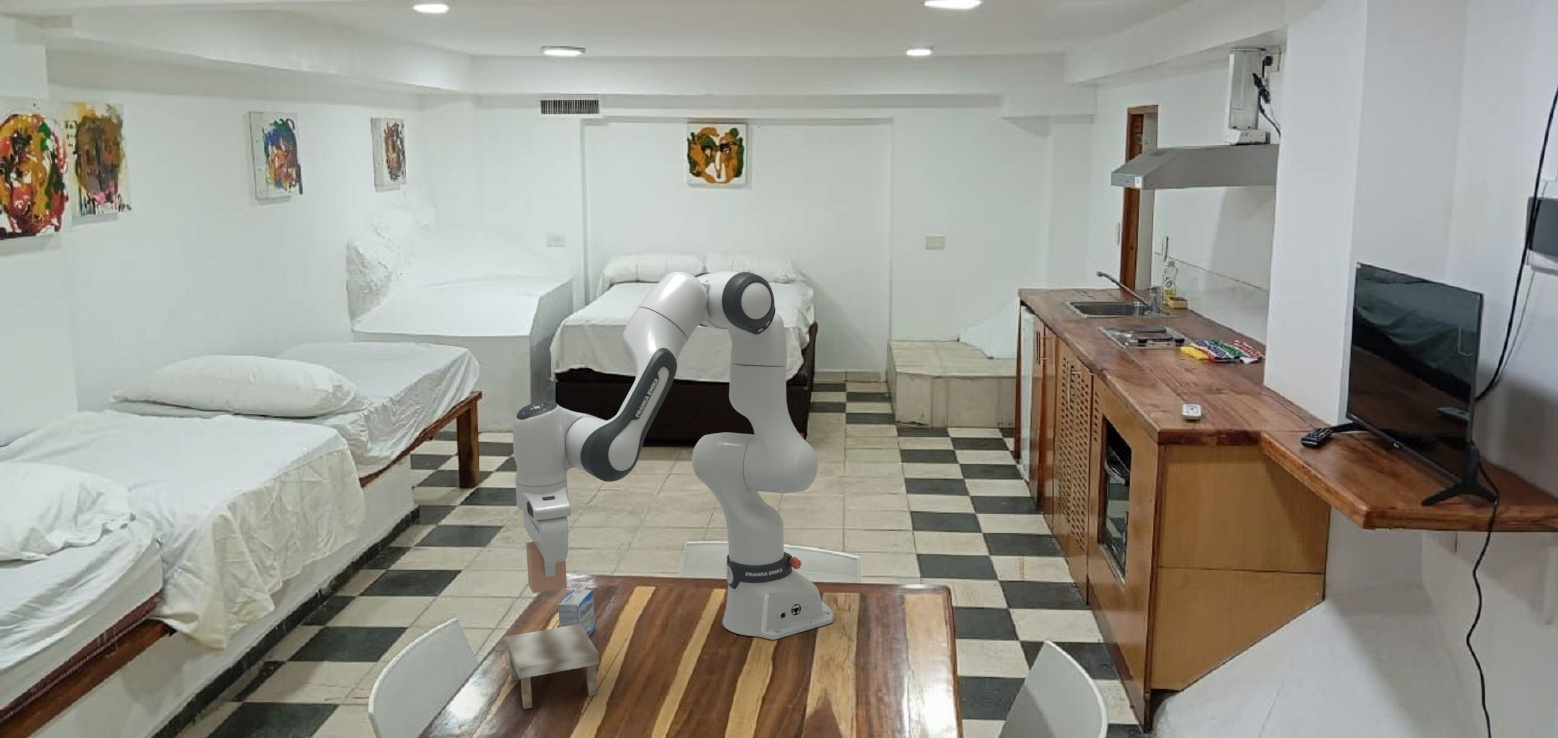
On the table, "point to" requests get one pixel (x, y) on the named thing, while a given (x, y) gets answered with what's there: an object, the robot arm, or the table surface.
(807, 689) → the table surface
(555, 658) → the footstool
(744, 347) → the robot arm
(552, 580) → the block
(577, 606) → the medicine box
